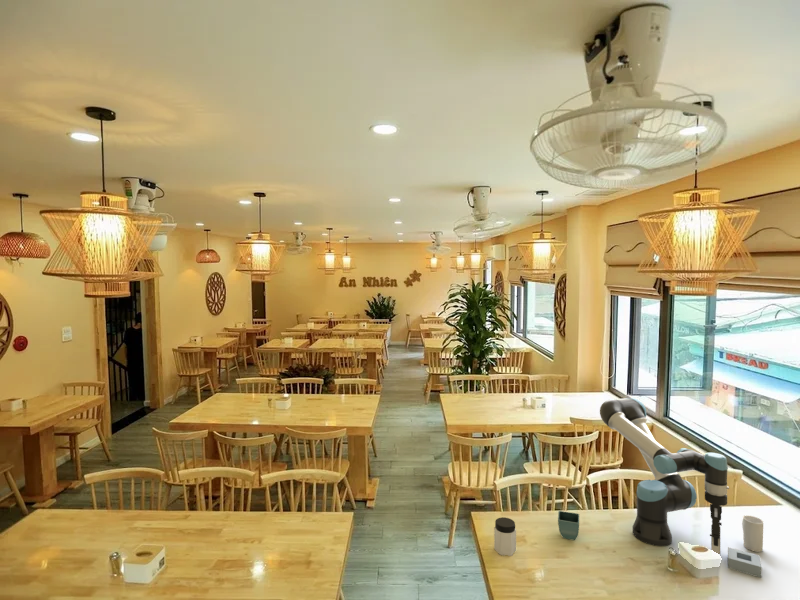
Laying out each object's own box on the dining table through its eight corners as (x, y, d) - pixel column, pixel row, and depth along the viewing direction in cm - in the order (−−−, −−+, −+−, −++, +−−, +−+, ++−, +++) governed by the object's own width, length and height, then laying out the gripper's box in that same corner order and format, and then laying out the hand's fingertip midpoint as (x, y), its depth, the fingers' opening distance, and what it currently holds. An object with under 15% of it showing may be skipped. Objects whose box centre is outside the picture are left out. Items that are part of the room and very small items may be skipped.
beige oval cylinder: (767, 553, 182) (767, 524, 182) (749, 551, 183) (749, 523, 182) (751, 539, 192) (751, 512, 191) (734, 538, 193) (734, 511, 192)
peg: (711, 555, 180) (711, 526, 180) (711, 552, 182) (711, 523, 182) (720, 558, 178) (720, 529, 178) (720, 554, 181) (720, 525, 180)
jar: (519, 554, 182) (519, 525, 182) (503, 558, 179) (502, 529, 179) (507, 542, 191) (507, 515, 190) (491, 546, 188) (491, 518, 188)
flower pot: (557, 539, 193) (557, 519, 192) (558, 529, 201) (558, 510, 201) (579, 544, 189) (579, 523, 189) (579, 533, 197) (579, 513, 197)
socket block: (728, 568, 172) (728, 558, 172) (727, 556, 179) (727, 547, 179) (761, 577, 166) (761, 567, 166) (759, 565, 173) (759, 555, 173)
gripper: (727, 505, 169) (727, 563, 169) (726, 484, 187) (726, 537, 187) (704, 500, 173) (704, 556, 173) (705, 480, 191) (705, 531, 192)
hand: (715, 546), depth 180 cm, fingers open, 10 cm apart
